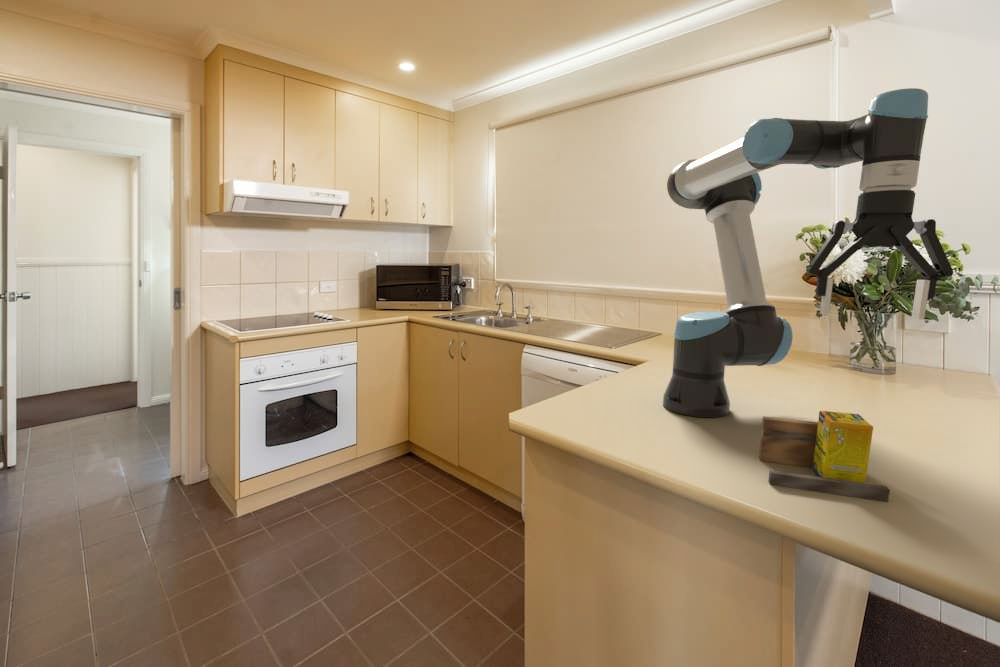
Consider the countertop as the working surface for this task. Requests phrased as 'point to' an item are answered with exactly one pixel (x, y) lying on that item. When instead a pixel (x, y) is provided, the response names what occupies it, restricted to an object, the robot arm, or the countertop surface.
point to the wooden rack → (805, 460)
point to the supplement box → (842, 446)
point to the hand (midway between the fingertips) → (869, 316)
